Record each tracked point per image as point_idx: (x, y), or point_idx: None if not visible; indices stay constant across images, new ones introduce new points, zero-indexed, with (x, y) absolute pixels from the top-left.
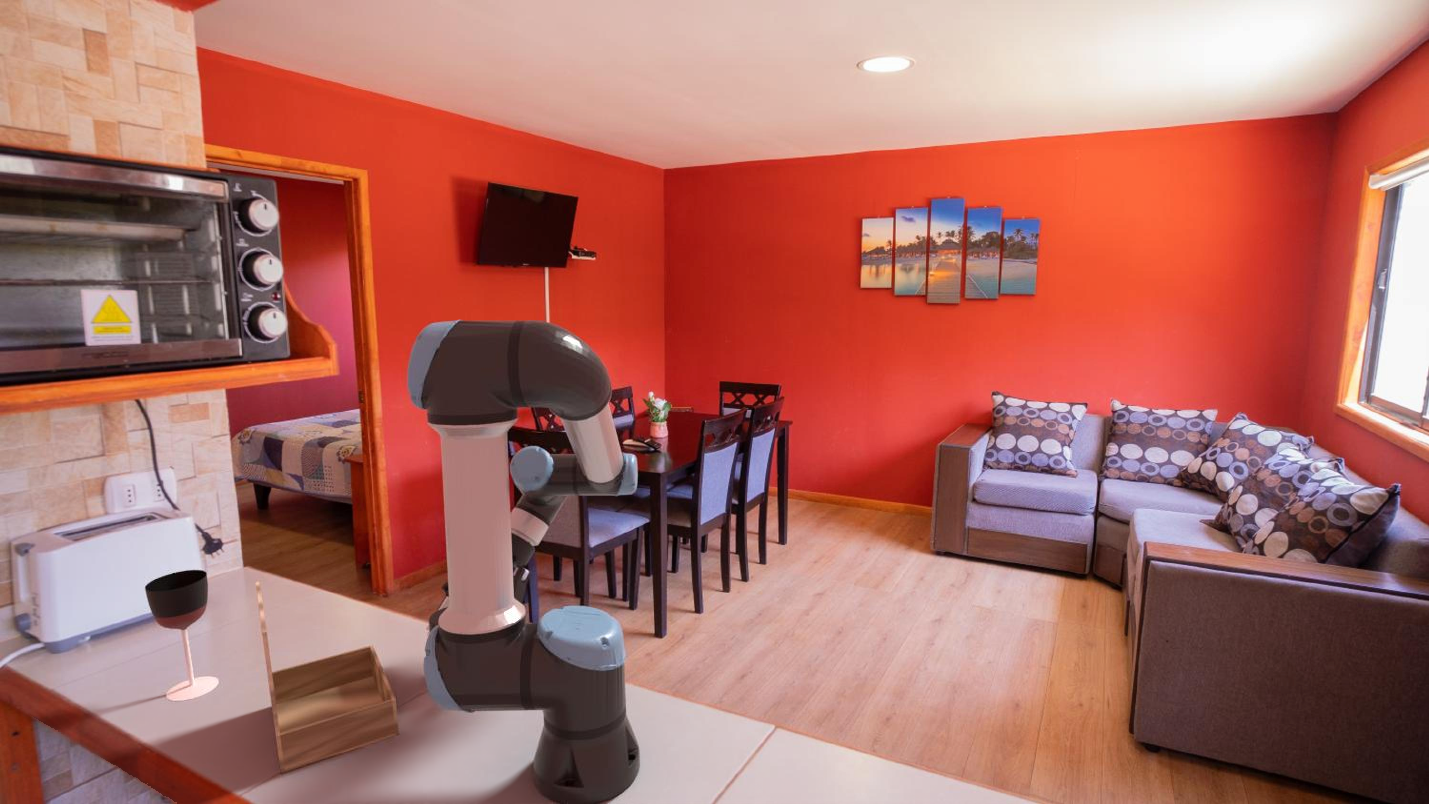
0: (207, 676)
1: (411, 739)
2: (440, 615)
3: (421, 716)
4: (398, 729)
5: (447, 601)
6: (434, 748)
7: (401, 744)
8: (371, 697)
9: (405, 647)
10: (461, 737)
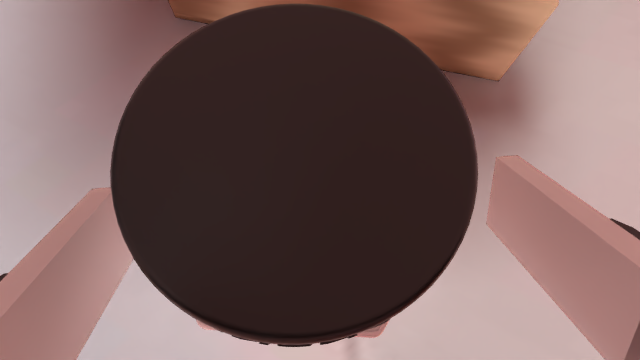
0: None
1: (131, 27)
2: (364, 83)
3: None
4: (171, 7)
5: (621, 262)
6: (48, 45)
7: (134, 6)
8: None
9: (634, 213)
10: (22, 105)
